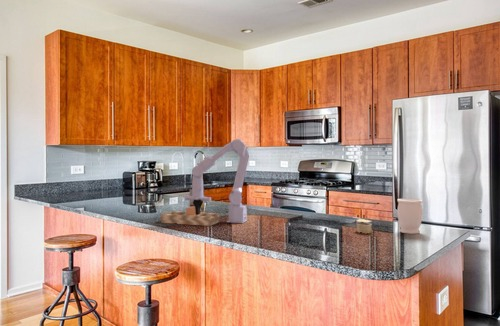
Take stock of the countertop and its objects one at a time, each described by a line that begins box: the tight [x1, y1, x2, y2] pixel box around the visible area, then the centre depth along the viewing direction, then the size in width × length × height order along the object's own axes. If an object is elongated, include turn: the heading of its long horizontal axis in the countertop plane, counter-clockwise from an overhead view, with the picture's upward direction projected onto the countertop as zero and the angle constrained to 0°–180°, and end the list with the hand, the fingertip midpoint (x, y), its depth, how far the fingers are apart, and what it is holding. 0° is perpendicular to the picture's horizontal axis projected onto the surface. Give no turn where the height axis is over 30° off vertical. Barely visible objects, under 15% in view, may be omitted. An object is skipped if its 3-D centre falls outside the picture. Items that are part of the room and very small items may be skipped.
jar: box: [396, 197, 423, 235], centre depth 170 cm, size 11×10×15 cm
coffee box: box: [189, 187, 206, 213], centre depth 218 cm, size 9×6×16 cm
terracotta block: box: [185, 206, 200, 216], centre depth 198 cm, size 5×5×5 cm
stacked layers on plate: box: [355, 218, 373, 234], centre depth 172 cm, size 10×9×6 cm
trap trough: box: [160, 210, 220, 227], centre depth 198 cm, size 29×11×4 cm, turn 71°
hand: (198, 214), depth 197 cm, fingers closed, pressing on terracotta block
